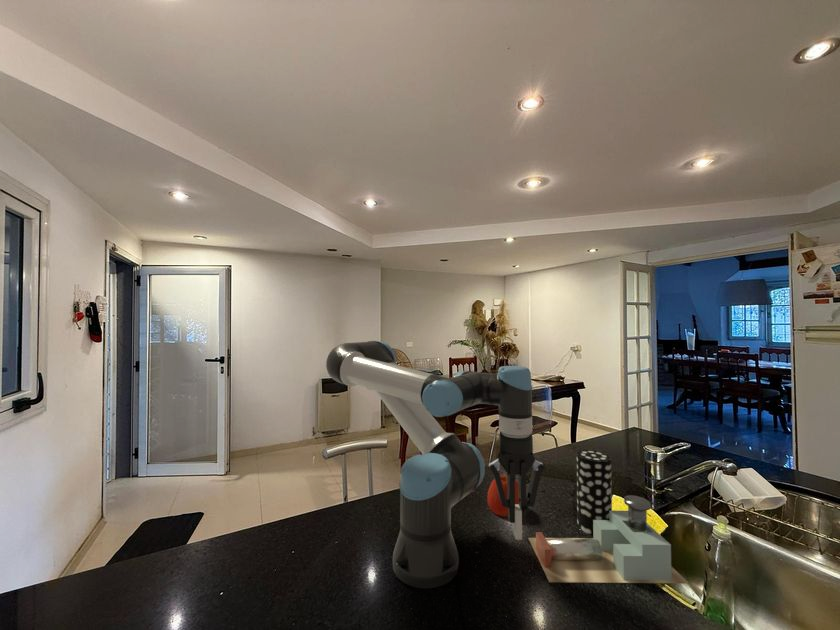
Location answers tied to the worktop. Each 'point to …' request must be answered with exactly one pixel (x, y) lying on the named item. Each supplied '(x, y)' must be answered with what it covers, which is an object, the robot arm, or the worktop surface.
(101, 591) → the worktop surface
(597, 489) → the white-spotted black cylinder
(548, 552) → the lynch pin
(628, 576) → the block
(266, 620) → the worktop surface
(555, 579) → the base board
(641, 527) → the plunger
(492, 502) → the apple
